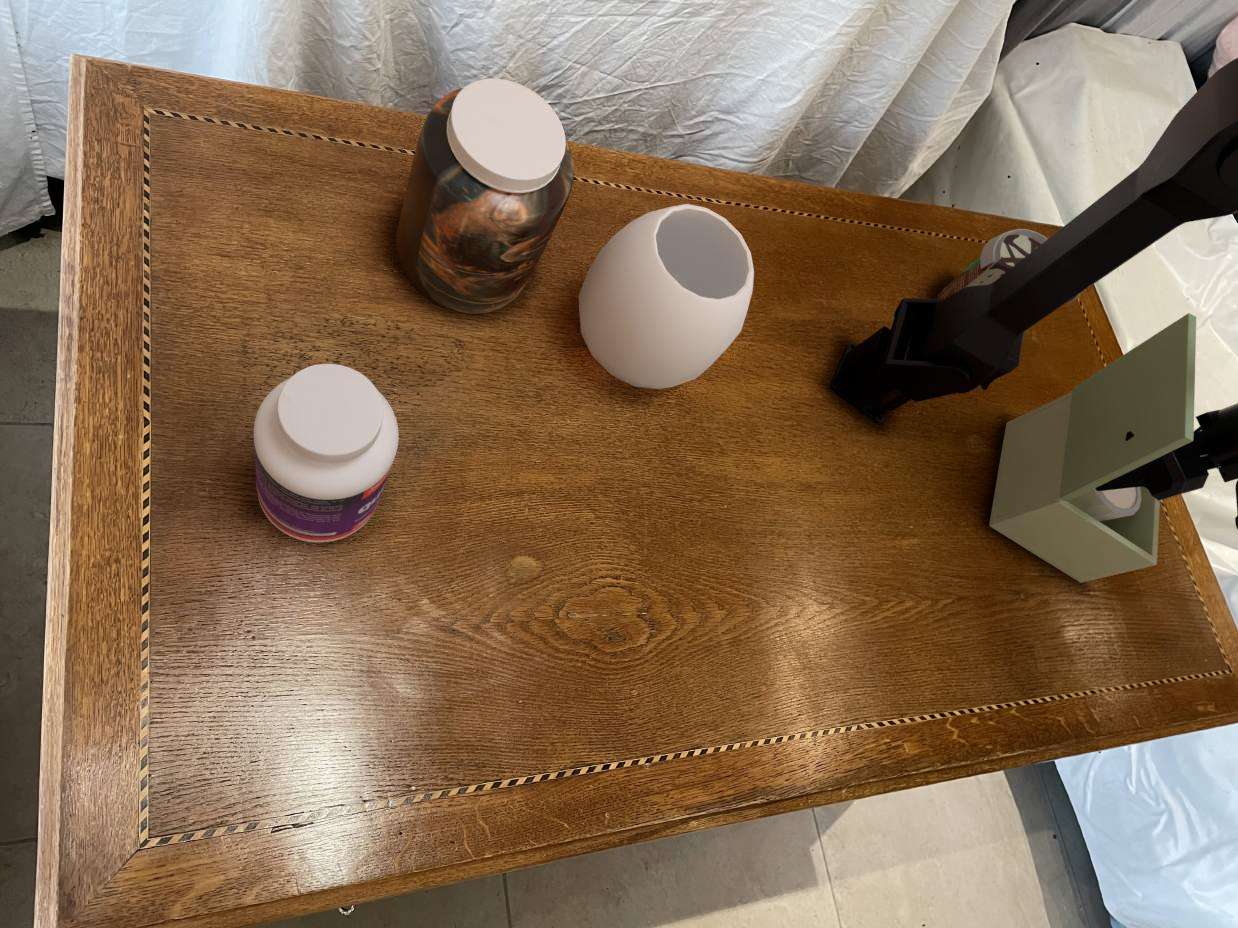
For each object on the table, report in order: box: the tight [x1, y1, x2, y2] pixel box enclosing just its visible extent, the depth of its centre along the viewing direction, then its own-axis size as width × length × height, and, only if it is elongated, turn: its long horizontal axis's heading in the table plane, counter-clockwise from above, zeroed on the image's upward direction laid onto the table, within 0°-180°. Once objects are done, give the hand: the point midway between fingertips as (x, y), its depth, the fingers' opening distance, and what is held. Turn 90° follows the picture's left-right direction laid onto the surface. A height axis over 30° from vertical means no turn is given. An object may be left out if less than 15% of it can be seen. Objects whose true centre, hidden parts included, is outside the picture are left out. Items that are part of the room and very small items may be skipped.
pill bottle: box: [253, 363, 400, 543], centre depth 49 cm, size 8×8×14 cm
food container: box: [936, 228, 1083, 304], centre depth 86 cm, size 12×6×10 cm, turn 84°
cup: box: [578, 203, 755, 390], centre depth 65 cm, size 13×13×14 cm
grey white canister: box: [1068, 487, 1141, 522], centre depth 80 cm, size 7×7×7 cm
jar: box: [396, 77, 575, 315], centre depth 60 cm, size 12×12×15 cm
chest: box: [988, 391, 1161, 584], centre depth 80 cm, size 12×13×8 cm
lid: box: [1060, 312, 1197, 502], centre depth 69 cm, size 13×13×1 cm
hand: (1124, 478), depth 76 cm, fingers open, 9 cm apart
